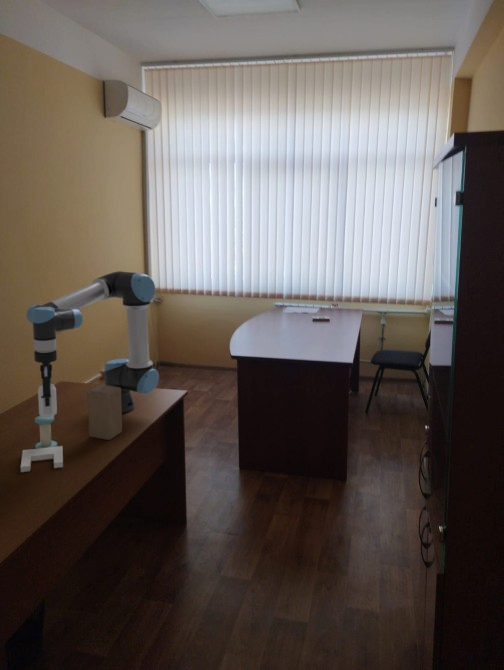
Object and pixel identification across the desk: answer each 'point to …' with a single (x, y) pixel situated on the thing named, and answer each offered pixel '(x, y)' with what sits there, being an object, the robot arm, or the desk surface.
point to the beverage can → (53, 401)
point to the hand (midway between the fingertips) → (48, 410)
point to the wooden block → (105, 412)
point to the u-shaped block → (42, 456)
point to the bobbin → (45, 432)
